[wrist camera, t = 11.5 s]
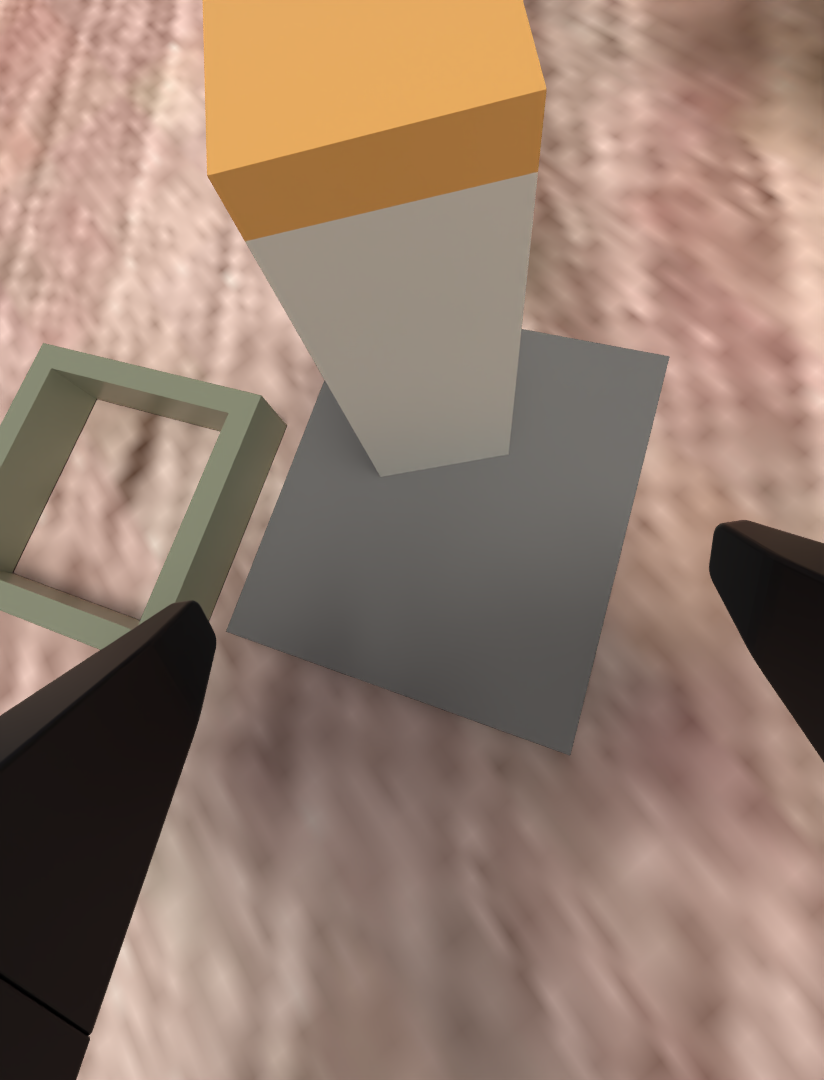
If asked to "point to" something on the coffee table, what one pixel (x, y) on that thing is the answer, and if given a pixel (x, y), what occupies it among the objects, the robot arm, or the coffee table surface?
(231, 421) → the case bay
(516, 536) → the rubber mat
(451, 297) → the block
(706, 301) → the coffee table surface
